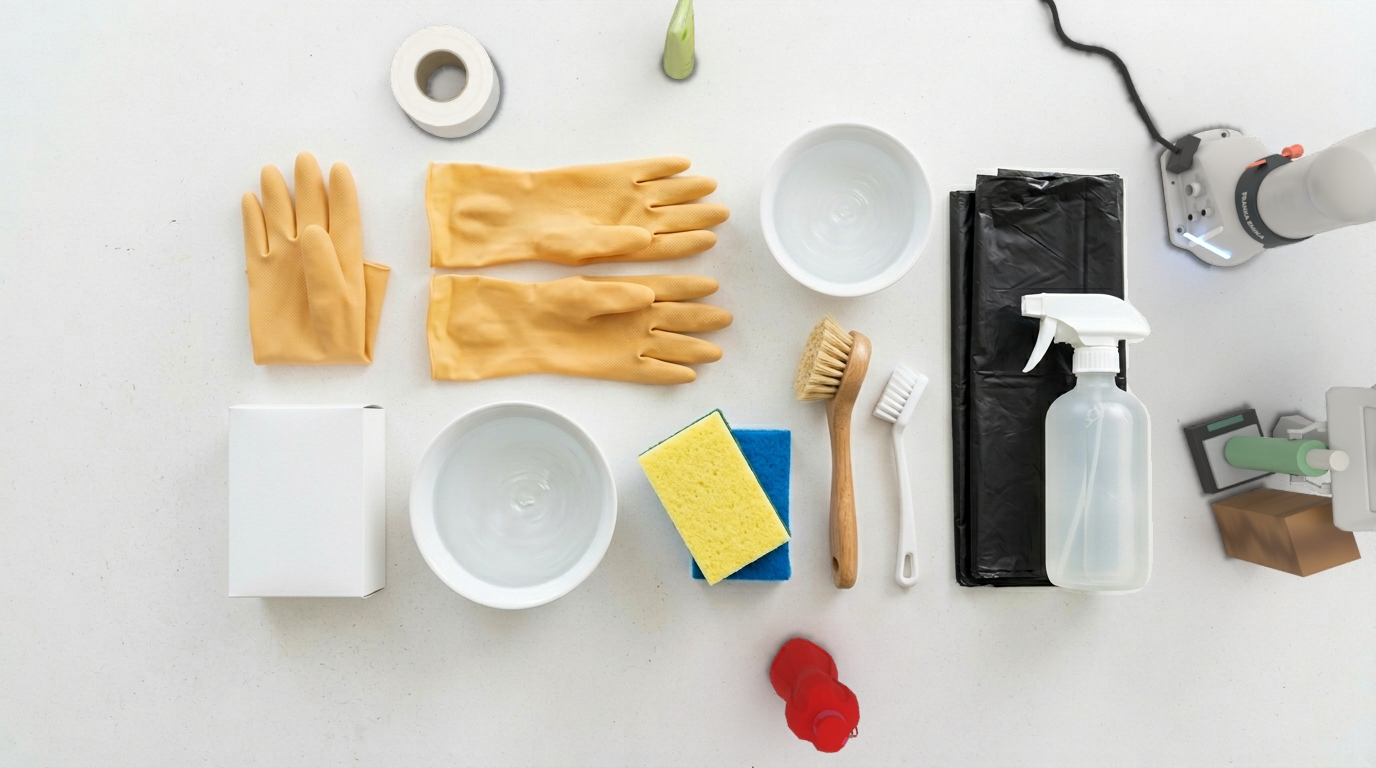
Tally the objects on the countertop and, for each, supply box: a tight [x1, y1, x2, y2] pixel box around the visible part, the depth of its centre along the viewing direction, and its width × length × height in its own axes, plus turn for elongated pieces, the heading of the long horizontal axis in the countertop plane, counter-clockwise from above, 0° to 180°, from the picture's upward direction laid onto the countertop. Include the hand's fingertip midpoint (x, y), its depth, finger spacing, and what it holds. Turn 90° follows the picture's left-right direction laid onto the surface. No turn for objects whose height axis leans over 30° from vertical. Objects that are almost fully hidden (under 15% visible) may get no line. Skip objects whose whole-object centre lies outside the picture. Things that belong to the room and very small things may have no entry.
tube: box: [662, 0, 695, 80], centre depth 115 cm, size 6×5×20 cm
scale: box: [1183, 408, 1277, 495], centre depth 124 cm, size 11×11×3 cm
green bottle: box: [1225, 436, 1349, 478], centre depth 113 cm, size 5×5×18 cm
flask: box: [1272, 414, 1329, 447], centre depth 121 cm, size 7×7×10 cm
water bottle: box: [769, 637, 861, 754], centre depth 111 cm, size 9×11×25 cm
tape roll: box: [389, 24, 501, 139], centre depth 121 cm, size 16×16×6 cm
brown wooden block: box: [1210, 486, 1362, 578], centre depth 118 cm, size 9×9×15 cm
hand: (1288, 457), depth 112 cm, fingers closed on green bottle, 5 cm apart
